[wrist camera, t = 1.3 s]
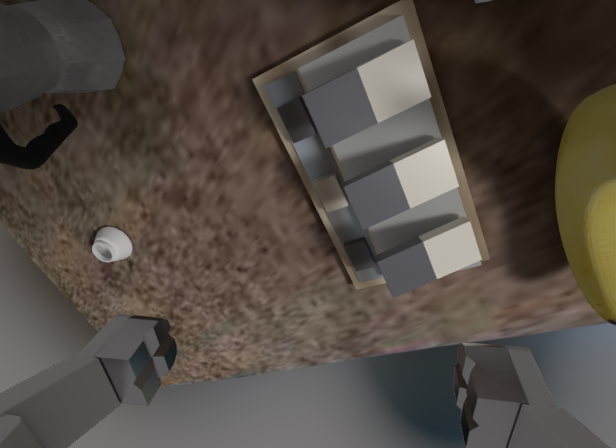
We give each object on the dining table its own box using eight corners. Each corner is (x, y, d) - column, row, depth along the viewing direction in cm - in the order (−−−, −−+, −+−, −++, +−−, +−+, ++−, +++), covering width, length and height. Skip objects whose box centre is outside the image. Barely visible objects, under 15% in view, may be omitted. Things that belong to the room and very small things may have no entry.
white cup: (140, 245, 49) (112, 218, 47) (127, 258, 46) (96, 229, 45) (122, 261, 51) (94, 236, 50) (107, 274, 48) (78, 247, 47)
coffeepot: (10, 8, 36) (-274, 2, 21) (63, -55, 32) (-240, -120, 17) (115, 142, 41) (-50, 216, 26) (171, 102, 37) (16, 161, 22)
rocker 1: (402, 42, 28) (413, 39, 26) (419, 95, 30) (431, 97, 28) (300, 94, 29) (302, 95, 27) (322, 143, 31) (326, 148, 28)
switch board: (410, -5, 28) (411, -7, 27) (488, 253, 38) (492, 264, 36) (255, 77, 34) (248, 81, 32) (357, 284, 44) (355, 295, 42)
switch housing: (402, 14, 28) (403, 14, 27) (477, 254, 37) (481, 265, 36) (303, 65, 32) (298, 68, 30) (394, 273, 41) (393, 284, 39)
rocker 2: (432, 134, 31) (444, 139, 29) (446, 178, 33) (459, 186, 31) (338, 179, 32) (343, 187, 30) (357, 219, 34) (362, 230, 31)
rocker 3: (457, 211, 34) (470, 221, 32) (468, 248, 36) (481, 259, 34) (370, 250, 35) (377, 262, 33) (386, 284, 37) (393, 297, 34)
